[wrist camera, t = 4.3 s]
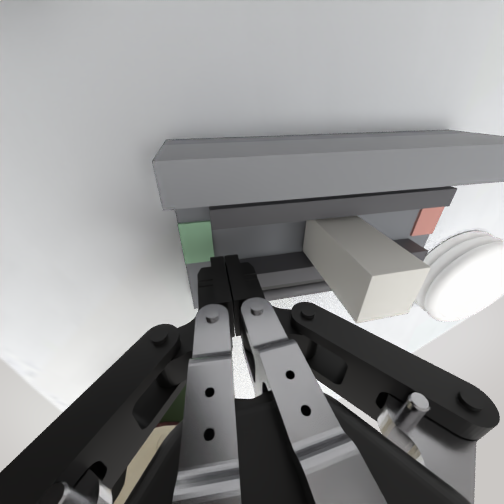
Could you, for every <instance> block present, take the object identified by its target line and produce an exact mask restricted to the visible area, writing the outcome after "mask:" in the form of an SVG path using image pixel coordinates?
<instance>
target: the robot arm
mask: <svg viewBox="0 0 504 504" xmlns="http://www.w3.org/2000/svg"><path fill="white" fill-rule="evenodd" d="M210 261H211V267H203V268H201V269H200V271H199V272H198V274H197V277H198V312H197V314H196V317H195V318H194V319H193V320H192V321H191V322H189V323H188V324H186V325H184V326H181V327H179V328H176V327H175V326H173V325H170V324H161V325H157V326H155V327H153V328H151V329H150V330H149V331H147V332H146V333H145V334H144V335H143V336H142V337H141V338H140V339H139V340H138V341H137V342H136V343H135V344H134V345H133V346H132V347H131V348H130V349H129V350H128V351H127V352H125V353H124V354H123V355H122V356H121V357H120V358H119V359H118V360H117V361H116V362H115V363H114V364H113V365H112V366H111V367H110V368H109V369H108V370H107V371H106V372H105V373H104V374H103V375H101V376H100V377H99V378H98V379H97V380H96V381H95V382H94V383H93V384H92V385H91V386H90V387H89V388H88V389H87V390H86V391H85V392H84V393H83V394H82V395H81V396H80V397H79V398H78V399H76V400H75V401H74V402H73V403H72V404H71V405H70V406H69V407H68V408H67V409H66V410H65V411H64V412H63V413H62V414H61V415H60V416H59V417H58V418H57V419H56V420H55V421H54V422H52V423H51V424H50V425H49V426H48V427H47V428H46V429H45V430H44V431H43V432H42V433H41V434H40V435H39V436H38V437H37V438H36V439H35V440H34V441H33V442H32V443H31V444H30V445H29V446H27V447H26V449H24V450H23V451H22V452H21V453H20V454H19V455H18V456H17V457H16V458H15V459H14V460H13V461H12V462H11V463H10V464H9V465H8V466H7V467H6V468H5V469H3V470H2V471H1V472H0V504H112V494H111V489H112V487H113V486H114V485H115V483H116V482H117V480H118V479H119V478H120V476H121V475H122V473H123V472H124V471H125V469H126V468H127V466H128V465H129V464H130V462H131V461H132V459H133V458H134V457H135V455H136V454H137V452H138V451H139V450H140V448H141V447H142V445H143V444H144V443H145V441H146V440H147V438H148V437H149V436H150V434H151V433H152V431H153V430H154V429H155V427H156V426H157V424H158V423H159V422H160V420H161V419H162V417H163V416H164V415H165V413H166V412H167V410H168V409H169V408H170V406H171V405H172V403H173V402H174V400H175V399H176V398H177V396H178V395H179V393H180V392H181V391H182V389H183V388H184V386H185V385H186V394H185V405H184V415H183V420H182V421H181V422H180V423H179V424H178V425H177V426H175V427H174V429H173V430H172V431H171V432H170V433H169V434H168V435H167V437H166V438H165V439H164V441H163V442H162V444H161V445H160V447H159V448H158V450H157V451H156V453H155V455H154V456H153V458H152V459H151V461H150V463H149V464H148V466H147V467H146V469H145V471H144V472H143V474H142V475H141V477H140V479H139V480H138V482H137V483H136V485H135V487H134V488H133V490H132V491H131V493H130V495H129V496H128V498H127V499H126V501H125V503H124V504H474V488H475V458H476V442H477V441H478V440H479V439H480V438H481V437H483V436H484V435H485V434H486V433H488V432H489V431H490V430H491V429H493V428H494V427H495V426H496V425H497V424H498V423H499V420H500V419H499V418H500V416H499V412H498V410H497V408H496V406H495V404H494V403H493V402H492V401H491V399H490V398H489V397H488V396H487V395H486V394H485V393H484V392H482V391H481V390H480V389H478V388H477V387H475V386H474V385H472V384H470V383H468V382H466V381H464V380H462V379H460V378H458V377H456V376H454V375H452V374H451V373H449V372H447V371H444V370H443V369H441V368H439V367H437V366H434V365H433V364H431V363H429V362H427V361H425V360H423V359H421V358H419V357H417V356H415V355H413V354H411V353H409V352H407V351H405V350H403V349H401V348H400V347H398V346H396V345H394V344H392V343H390V342H388V341H386V340H384V339H382V338H380V337H378V336H376V335H374V334H372V333H370V332H368V331H366V330H364V329H362V328H360V327H358V326H356V325H354V324H352V323H350V322H349V321H347V320H345V319H343V318H341V317H339V316H337V315H335V314H333V313H331V312H329V311H327V310H325V309H323V308H321V307H319V306H317V305H315V304H313V303H309V302H300V303H297V304H296V305H294V306H293V308H292V310H289V309H280V308H276V307H274V306H272V305H271V304H270V302H269V301H267V300H266V299H265V296H264V294H263V291H262V288H261V286H260V283H259V280H258V277H257V275H256V272H255V269H254V267H253V266H252V265H251V264H250V263H249V262H243V263H240V261H239V258H238V255H237V254H234V255H226V256H224V257H223V256H218V257H210ZM224 261H225V262H224ZM234 328H235V333H236V336H240V335H241V338H242V346H243V353H244V356H245V360H246V363H247V366H248V370H249V373H250V377H251V380H252V384H253V387H254V392H255V398H253V399H236V398H235V391H234V377H233V363H232V348H233V345H232V337H235V333H234ZM316 379H317V380H318V381H320V382H321V383H323V384H324V385H325V386H327V387H328V388H330V389H331V390H333V391H334V392H335V393H337V394H338V395H340V396H341V397H343V398H344V399H346V400H347V401H348V402H350V403H351V404H353V405H354V406H356V407H357V408H359V409H360V410H362V411H363V412H364V413H366V414H368V415H369V416H370V417H371V418H373V419H374V420H376V421H377V422H378V426H379V428H380V431H381V432H382V434H383V435H382V434H381V433H380V432H378V431H377V430H376V429H374V428H373V427H372V426H370V425H369V424H368V423H366V422H365V421H364V420H362V419H361V418H360V417H358V416H357V415H356V414H355V413H353V412H352V411H350V410H349V409H348V408H346V407H345V406H344V405H343V404H341V403H340V402H339V401H337V400H336V399H334V398H333V397H331V396H329V395H327V394H325V393H323V392H322V390H321V388H320V386H319V384H318V382H317V380H316ZM186 383H187V384H186Z"/></svg>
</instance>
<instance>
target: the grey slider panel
mask: <svg viewBox="0 0 504 504" xmlns="http://www.w3.org/2000/svg"><path fill="white" fill-rule="evenodd" d="M152 163H153V167H154V172H155V176H156V181H157V185H158V190H159V194H160V199H161V203H162V208H163V210H172V209H175V211H176V216H177V221H178V229H179V234H180V239H181V244H182V249H183V254H184V259H185V264H186V268H187V273H188V278H189V283H190V288H191V294H192V299H193V304H194V309H196V308H198V277H197V274H198V272H199V271H200V269H201V268H203V267H211V261H210V257H218V256H223V257H224V256H226V255H234V254H237V255H238V258H239V261H240V263H243V262H249V263H250V264H251V265H252V266H253V267H254V269H255V272H256V275H257V277H258V280H259V283H260V286H261V288H262V291H263V294H264V296H265V299H266V300H267V301H271V300H277V299H283V298H289V297H296V296H302V295H308V294H315V293H321V292H327V291H332V290H331V288H330V287H329V286H328V284H327V283H326V282H325V280H324V279H323V277H322V276H321V275H320V273H319V272H318V271H317V269H316V268H315V267H314V265H313V264H312V263H311V261H310V260H309V258H308V257H307V256H306V254H305V253H304V252H303V243H304V235H305V228H306V221H307V220H317V219H327V218H337V217H346V216H356V215H357V216H358V217H360V218H361V219H363V220H364V221H365V222H367V223H368V224H370V225H371V226H373V227H374V228H376V229H377V230H378V231H380V232H381V233H383V234H384V235H386V236H387V237H388V238H390V239H391V240H393V241H394V242H396V243H397V244H398V245H400V246H401V247H403V248H404V249H406V250H407V251H408V252H410V253H411V254H413V255H414V256H416V257H417V258H419V259H420V260H421V261H424V259H425V257H426V254H427V252H428V250H426V249H425V248H424V245H425V243H426V241H427V239H428V236H429V234H432V233H433V231H434V229H435V227H436V224H437V222H438V220H439V218H440V216H441V213H442V211H443V209H444V207H445V206H449V205H450V203H451V201H452V199H453V197H454V195H455V192H456V190H457V188H454V187H451V186H457V185H469V184H481V183H493V182H504V136H497V135H488V134H480V133H471V132H462V131H454V130H432V131H403V132H375V133H347V134H318V135H290V136H261V137H233V138H204V139H176V140H166V141H165V142H164V144H163V146H162V147H161V149H160V150H159V152H158V153H157V155H156V156H155V158H154V159H153V161H152ZM224 262H225V261H224Z"/></svg>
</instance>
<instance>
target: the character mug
mask: <svg viewBox="0 0 504 504" xmlns="http://www.w3.org/2000/svg"><path fill="white" fill-rule="evenodd" d="M186 384H187V383H186ZM185 394H186V385H185V386H184V388H183V389H182V391H181V392H180V393H179V395H178V396H177V398H176V399H175V400H174V402H173V403H172V405H171V406H170V408H169V409H168V410H167V412H166V413H165V415H164V416H163V417H162V419H161V420H160V422H159V423H158V424H157V426H156V427H155V429H154V430H153V431H152V433H151V434H150V436H149V437H148V438H147V440H146V441H145V443H144V444H143V445H142V447H141V448H140V450H139V451H138V452H137V454H136V455H135V457H134V458H133V459H132V461H131V462H130V464H129V465H128V466H127V468H126V469H125V471H124V472H123V473H122V475H121V476H120V478H119V479H118V480H117V482H116V483H115V485H114V486H113V487H112V489H111V494H112V504H124V503H125V501H126V499H127V498H128V496H129V495H130V493H131V491H132V490H133V488H134V487H135V485H136V483H137V482H138V480H139V479H140V477H141V475H142V474H143V472H144V471H145V469H146V467H147V466H148V464H149V463H150V461H151V459H152V458H153V456H154V455H155V453H156V451H157V450H158V448H159V447H160V445H161V444H162V442H163V441H164V439H165V438H166V437H167V435H168V434H169V433H170V432H171V431H172V430H173V429H174V427H175V426H177V425H178V424H179V423H180V422H181V421H182V420H183V415H184V405H185Z"/></svg>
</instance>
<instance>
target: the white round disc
mask: <svg viewBox="0 0 504 504" xmlns="http://www.w3.org/2000/svg"><path fill="white" fill-rule="evenodd" d="M423 262H424V263H426V264H427V265H429V266H430V267H431V269H430V271H429V273H428V275H427V277H426V279H425V281H424V283H423V285H422V287H421V289H420V291H419V293H418V295H417V297H416V299H415V301H414V302H415V303H417V304H419V306H420V307H421V308H422V309H423V310H424V311H426V312H427V313H428V314H429V315H430V316H431V317H432V318H434V319H436V320H438V321H444V322H450V321H457V320H461V319H464V318H467V317H469V316H471V315H474V314H476V313H478V312H479V311H481V310H483V309H484V308H486V307H488V306H489V305H490V304H492V303H493V302H495V301H496V300H497V299H498V298H499V297H501V296H502V295H503V294H504V241H503V240H502V239H500V238H497V237H493V236H492V235H491V234H489V233H486V232H481V231H470V232H466V233H462V234H460V235H457V236H454V237H452V238H450V239H448V240H447V241H445V242H443V243H442V244H440V245H439V246H437V247H436V248H435V249H433V250H432V251H431V252H430V253H429V254H428V255H427V256H426V257H425V259H424V261H423Z"/></svg>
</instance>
